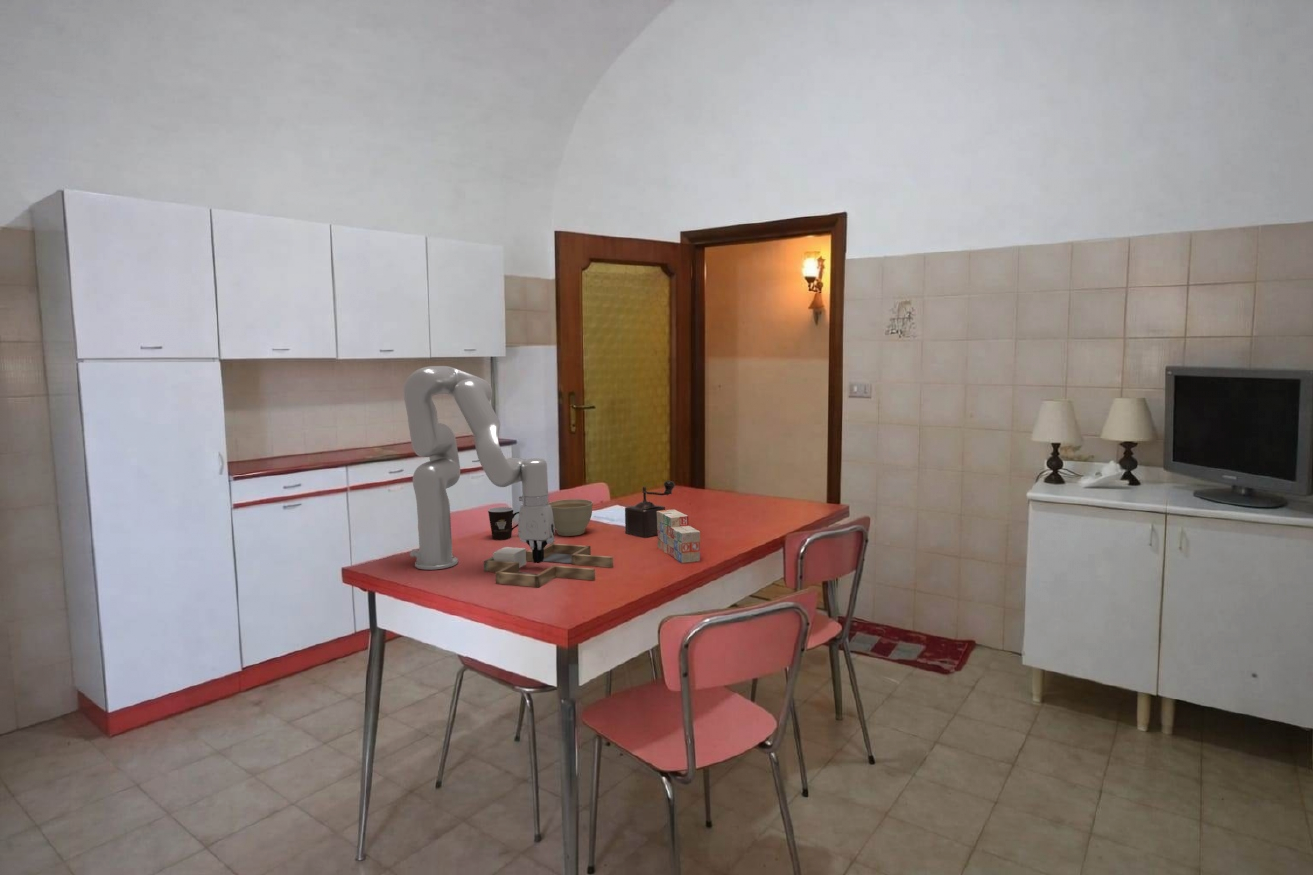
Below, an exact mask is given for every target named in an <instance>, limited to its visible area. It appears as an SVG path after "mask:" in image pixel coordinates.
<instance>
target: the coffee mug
mask: <svg viewBox="0 0 1313 875" xmlns="http://www.w3.org/2000/svg"><path fill="white" fill-rule="evenodd" d="M487 513H488V519H489V525H490V531H491V537H492V540H493V541H495V540H496V541H505V540H509V539H511V538H512V533H513V531H514V529H516V528H518V523H517V524H516V525H515V526H513V520H514V518H515V517H516V515H519V511H517V512H514V507H510V506H498V507H491V508H488V510H487Z"/></svg>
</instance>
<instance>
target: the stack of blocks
mask: <svg viewBox="0 0 1313 875" xmlns="http://www.w3.org/2000/svg"><path fill="white" fill-rule="evenodd" d="M657 529H658V530H657V533H658V535H657V548H658V549H660V550H661V551H662V552H664V553H665V554H667V555H668V556H670V557H672V558H673V559H675V560H676V561H677V562H679V563H681V564H685V563H694V562H700V561H701V554H700V552H701V545H700V542H701V532H700V530H697V529H696V528H694V527H692V526H691V525H690V524H689V515H687V514H684V513H683V512H681V511H678V510H676V509H665V510H663V511H657Z"/></svg>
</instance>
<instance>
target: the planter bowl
mask: <svg viewBox="0 0 1313 875" xmlns="http://www.w3.org/2000/svg"><path fill="white" fill-rule="evenodd" d="M593 502H594V501H592V500H589V499H585V498H583V499H582V498H575V499H574V498H572V499H560V500H559V499H558V500H554V501H550V502H549V505H551V508H552V512H553V518H554V526H555V531H556V532H557V535H559V536H562V537H563V536H564V537H569V536H570V537H571V536H573V537H574V536H580V535H583V534H584V533H585V532H586V528H588V525H589V524H590V521H591V519H592V516H593V504H594V503H593Z"/></svg>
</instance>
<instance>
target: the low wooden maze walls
mask: <svg viewBox="0 0 1313 875" xmlns="http://www.w3.org/2000/svg"><path fill="white" fill-rule="evenodd" d="M526 562H533V563H534V561H533V556H532V550H527V549H526ZM541 563H552V564H565V565H551V566H549V567H548V568H546V569H544V570H543V571H541V572H539V573H534V572H532V573H531V572H521V571H520V568H519V563H517V562H505V561H494V558H493V556H492V557H489V558H487V559H485V560H484V561H483V569H484V570H483V571H484V572H490V573H491V572H492V573H494V574H495V575H494V576H495V584H498V585H508V586H521V587H531V588H532V587H533V588H540V587H542V586H543V585H545V584H547V583H548V582H550V581H551V580H554V579H555V578H559V579H560V578H561V579H574V580H575V579H576V580H585V581H586V580H587V581H595V580H596V568H589V567H600V568H611V569H612V568H613V567H614V556H606V555H595V554H594V555H593V554H592V551H591V545H583V544H582V545H580V544H578V545H577V544H565V543H551V544H547V545H546V546H545V548H544V559H543V561H542V562H541ZM567 564H568V565H572V566H566V565H567ZM577 566H580V567H577ZM581 566H584V567H581ZM585 566H586V567H585Z"/></svg>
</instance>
